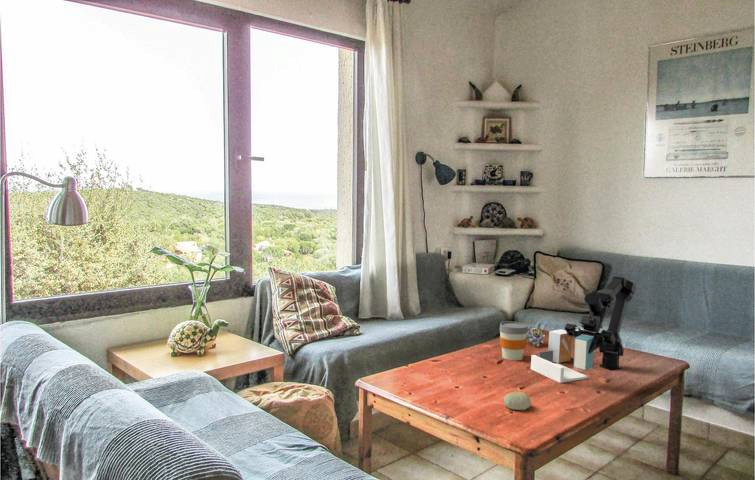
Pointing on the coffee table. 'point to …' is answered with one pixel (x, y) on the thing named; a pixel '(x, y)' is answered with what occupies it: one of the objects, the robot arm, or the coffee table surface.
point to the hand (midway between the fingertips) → (582, 351)
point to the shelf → (553, 368)
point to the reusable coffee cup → (513, 339)
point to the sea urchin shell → (517, 401)
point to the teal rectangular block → (583, 352)
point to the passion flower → (534, 335)
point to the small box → (560, 345)
